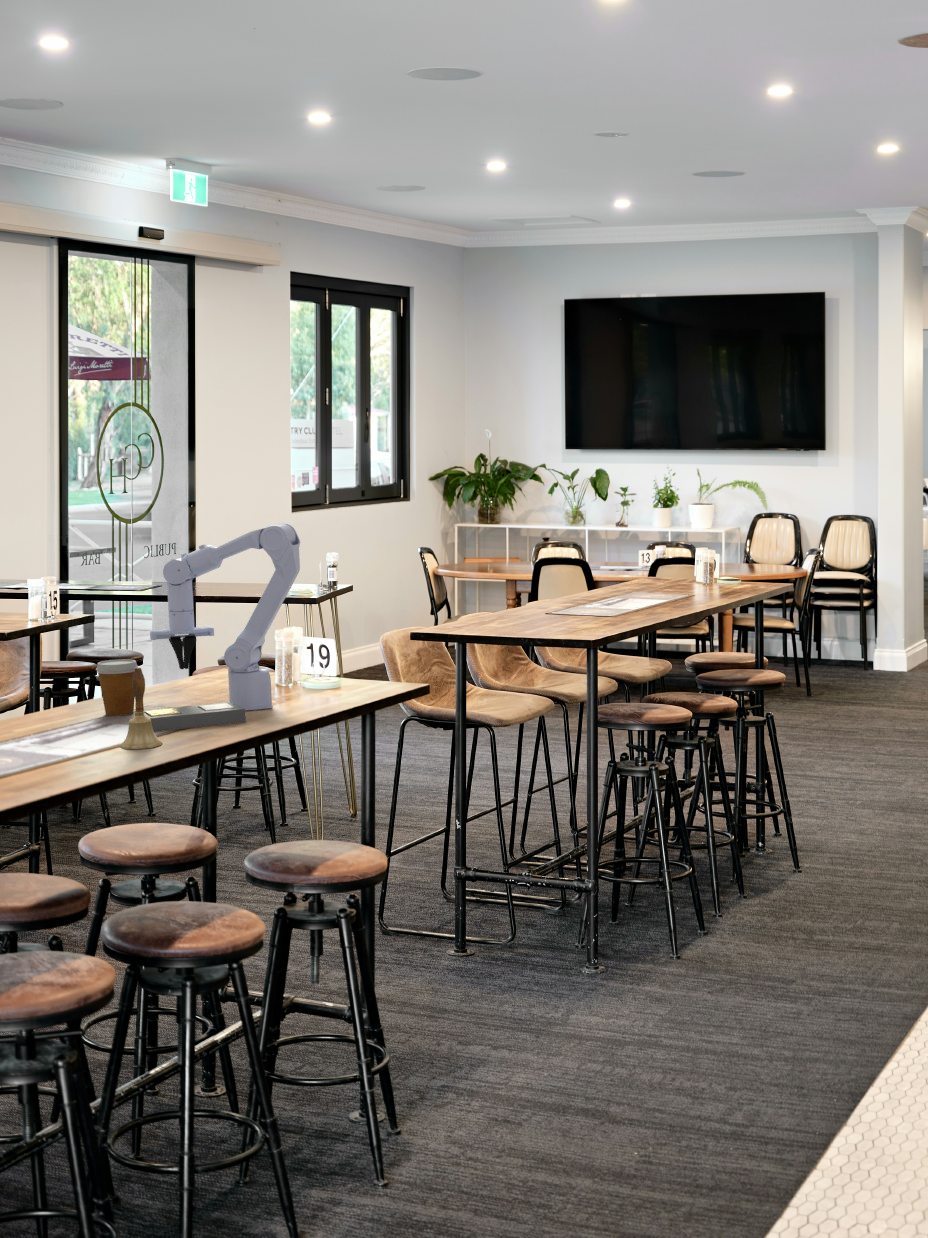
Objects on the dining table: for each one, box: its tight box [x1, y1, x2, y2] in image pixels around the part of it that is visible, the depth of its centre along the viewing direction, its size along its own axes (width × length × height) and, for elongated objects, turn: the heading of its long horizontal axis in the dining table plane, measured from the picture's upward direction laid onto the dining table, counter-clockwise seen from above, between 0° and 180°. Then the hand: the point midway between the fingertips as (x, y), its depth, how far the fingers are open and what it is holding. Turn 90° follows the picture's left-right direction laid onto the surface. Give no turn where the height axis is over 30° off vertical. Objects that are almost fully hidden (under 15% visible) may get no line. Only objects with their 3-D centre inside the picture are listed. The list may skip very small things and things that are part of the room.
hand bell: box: [120, 667, 163, 750], centre depth 299 cm, size 8×8×16 cm
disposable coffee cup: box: [95, 658, 139, 717], centre depth 338 cm, size 10×10×12 cm
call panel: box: [133, 701, 247, 733], centre depth 324 cm, size 22×11×3 cm, turn 115°
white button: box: [199, 702, 234, 711], centre depth 326 cm, size 6×6×3 cm
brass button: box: [145, 707, 181, 717], centre depth 321 cm, size 6×6×3 cm
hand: (184, 668), depth 342 cm, fingers closed
